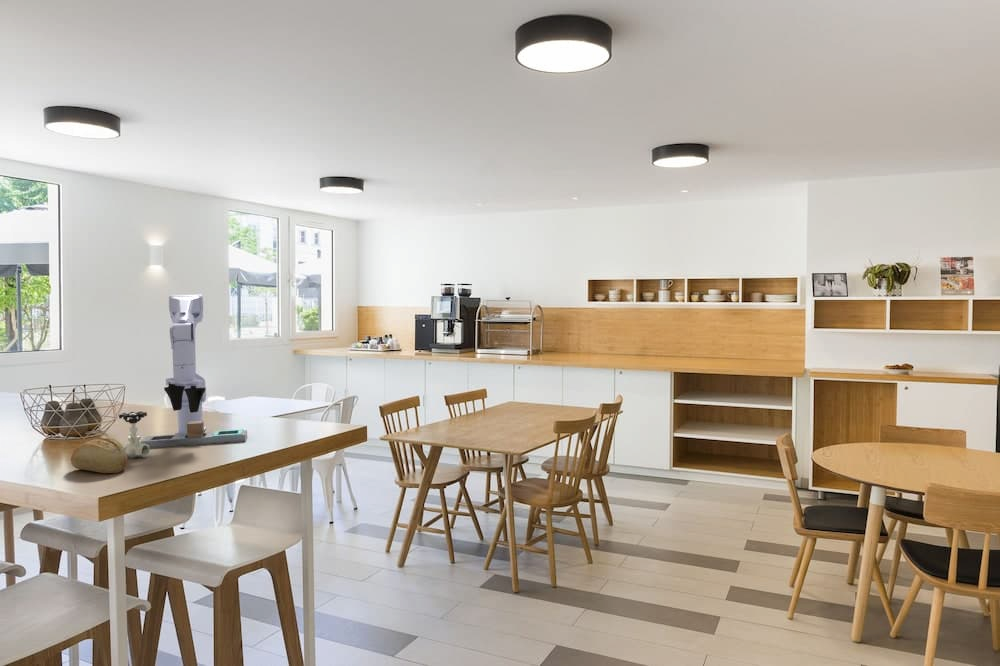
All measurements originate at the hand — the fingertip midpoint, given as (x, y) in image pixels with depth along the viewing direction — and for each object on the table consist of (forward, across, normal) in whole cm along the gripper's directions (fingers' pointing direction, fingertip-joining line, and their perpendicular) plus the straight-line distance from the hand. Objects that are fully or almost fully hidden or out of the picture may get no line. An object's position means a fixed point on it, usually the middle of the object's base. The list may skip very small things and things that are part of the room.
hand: (185, 411), depth 200 cm
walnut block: (+10, 0, +3) cm, 10 cm away
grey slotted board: (+10, 0, +3) cm, 10 cm away
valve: (+10, +2, -17) cm, 20 cm away
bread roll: (+10, +8, -30) cm, 32 cm away
